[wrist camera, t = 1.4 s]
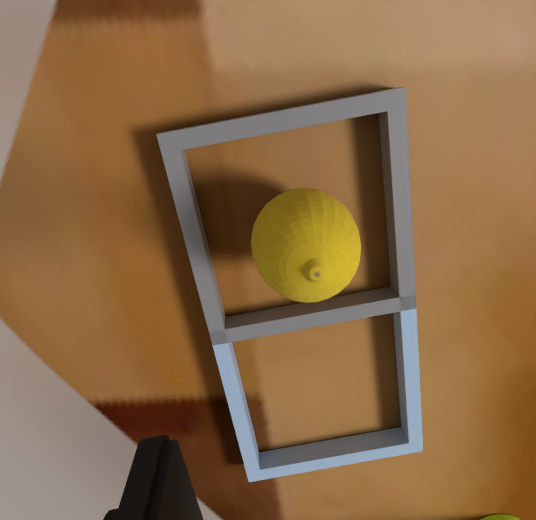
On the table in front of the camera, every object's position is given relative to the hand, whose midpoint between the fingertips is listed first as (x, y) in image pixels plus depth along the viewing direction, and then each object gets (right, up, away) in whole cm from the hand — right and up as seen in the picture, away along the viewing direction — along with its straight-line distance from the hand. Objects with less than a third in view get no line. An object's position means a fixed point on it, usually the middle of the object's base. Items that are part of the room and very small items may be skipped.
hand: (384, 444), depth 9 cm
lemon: (-1, +7, +16) cm, 17 cm away
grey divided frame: (0, +1, +18) cm, 18 cm away
